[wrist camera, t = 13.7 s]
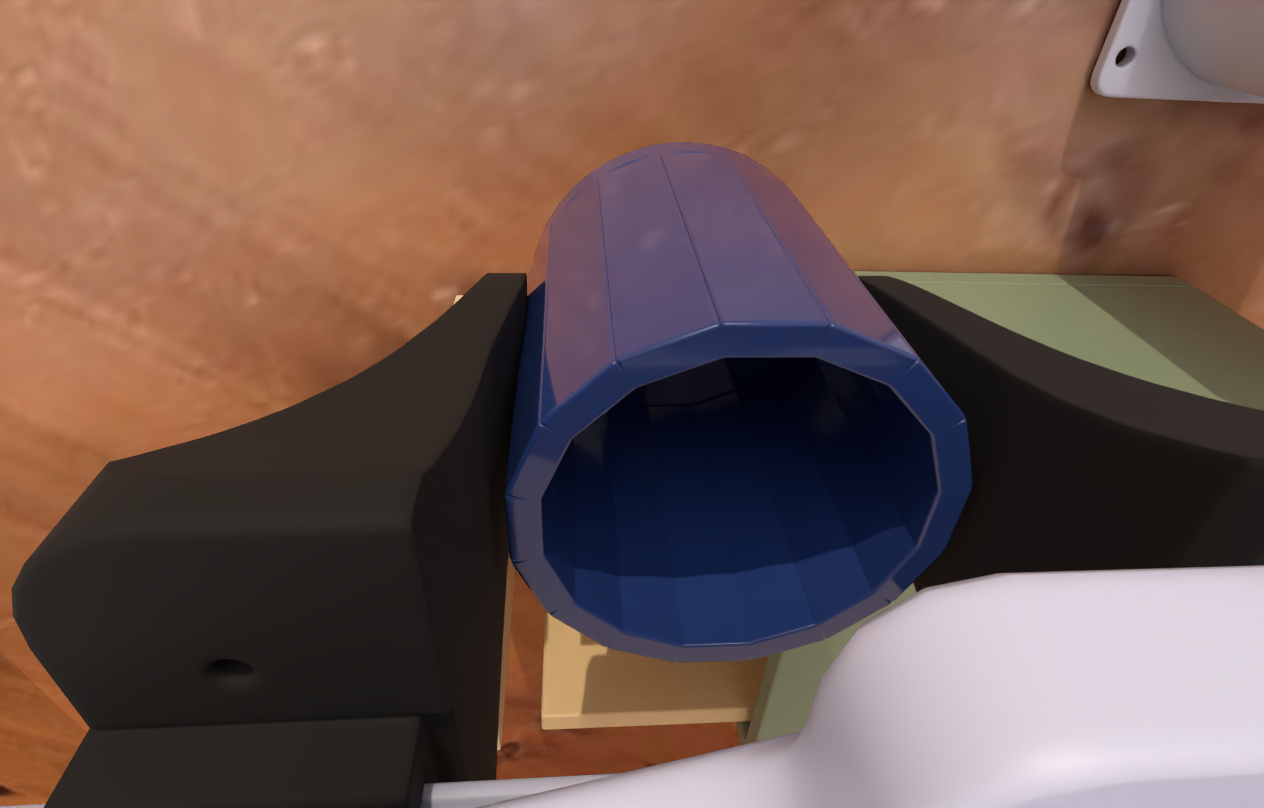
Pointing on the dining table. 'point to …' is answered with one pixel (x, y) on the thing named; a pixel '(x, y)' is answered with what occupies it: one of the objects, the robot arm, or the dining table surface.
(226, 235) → the dining table surface
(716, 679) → the drawer
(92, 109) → the dining table surface
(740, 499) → the cup
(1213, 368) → the cabinet
